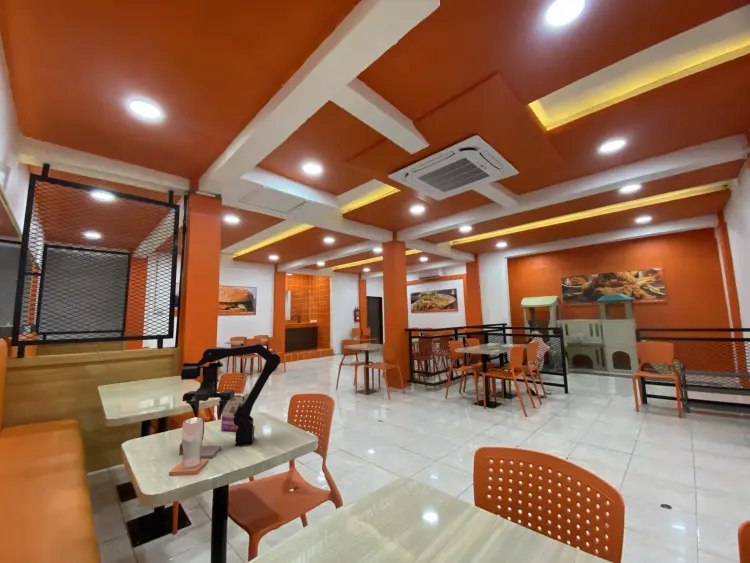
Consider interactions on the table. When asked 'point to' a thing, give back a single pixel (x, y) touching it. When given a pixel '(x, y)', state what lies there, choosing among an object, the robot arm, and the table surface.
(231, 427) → the candy bar box
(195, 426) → the beer glass
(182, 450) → the walnut block
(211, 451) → the slate tile
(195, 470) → the terracotta tile
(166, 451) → the table surface
